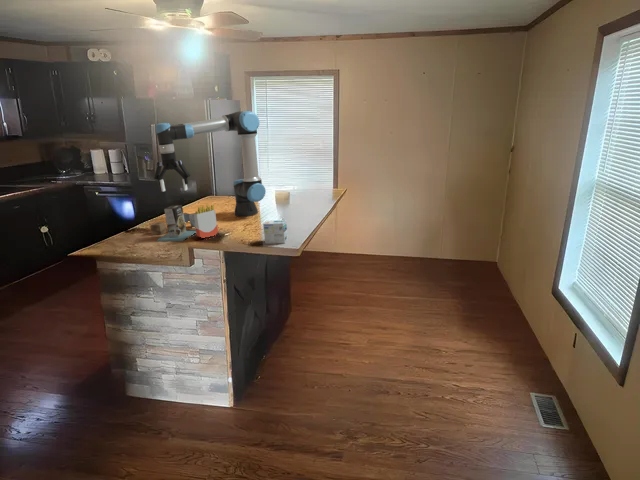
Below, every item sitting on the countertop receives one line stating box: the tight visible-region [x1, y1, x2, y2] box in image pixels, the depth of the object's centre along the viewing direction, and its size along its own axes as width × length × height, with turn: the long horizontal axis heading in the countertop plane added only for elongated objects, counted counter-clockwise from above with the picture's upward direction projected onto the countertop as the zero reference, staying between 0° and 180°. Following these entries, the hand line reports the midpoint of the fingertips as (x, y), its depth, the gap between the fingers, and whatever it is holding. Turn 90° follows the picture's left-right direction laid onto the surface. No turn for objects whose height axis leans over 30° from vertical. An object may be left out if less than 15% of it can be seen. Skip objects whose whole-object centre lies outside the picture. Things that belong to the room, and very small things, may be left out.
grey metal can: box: [188, 212, 195, 228], centre depth 263 cm, size 6×6×8 cm
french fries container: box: [194, 204, 219, 239], centre depth 237 cm, size 5×11×18 cm, turn 133°
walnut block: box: [149, 221, 168, 236], centre depth 255 cm, size 6×6×6 cm
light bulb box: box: [262, 219, 289, 245], centre depth 222 cm, size 11×7×11 cm, turn 81°
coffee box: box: [163, 204, 187, 237], centre depth 243 cm, size 9×6×16 cm
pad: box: [157, 230, 196, 242], centre depth 245 cm, size 16×16×1 cm
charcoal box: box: [183, 212, 190, 223], centre depth 278 cm, size 6×8×5 cm
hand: (174, 190), depth 244 cm, fingers open, 13 cm apart
